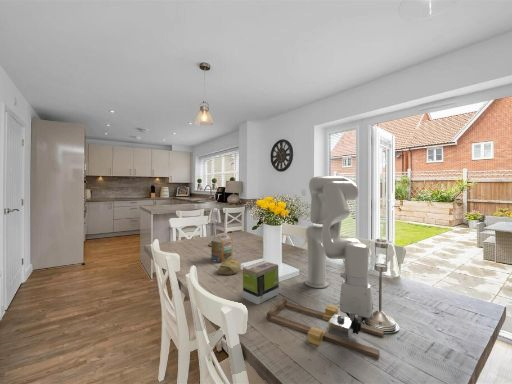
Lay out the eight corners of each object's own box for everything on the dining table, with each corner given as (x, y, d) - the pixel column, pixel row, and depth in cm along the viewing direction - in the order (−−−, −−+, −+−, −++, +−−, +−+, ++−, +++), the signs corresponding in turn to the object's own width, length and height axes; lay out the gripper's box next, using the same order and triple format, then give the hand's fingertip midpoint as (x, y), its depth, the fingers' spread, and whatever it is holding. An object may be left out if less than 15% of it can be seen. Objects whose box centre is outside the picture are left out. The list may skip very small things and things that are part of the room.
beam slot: (288, 300, 111) (288, 293, 111) (384, 327, 89) (385, 319, 89) (261, 324, 91) (261, 316, 91) (376, 367, 69) (376, 356, 69)
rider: (334, 323, 92) (334, 310, 92) (353, 330, 88) (353, 316, 88) (328, 332, 86) (328, 318, 86) (348, 340, 82) (348, 325, 82)
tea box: (264, 288, 123) (264, 259, 123) (279, 294, 116) (279, 264, 116) (242, 298, 113) (242, 266, 112) (257, 305, 106) (257, 272, 105)
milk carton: (221, 256, 179) (221, 231, 179) (232, 259, 173) (232, 233, 173) (211, 260, 171) (211, 233, 170) (222, 263, 164) (222, 235, 164)
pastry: (237, 267, 156) (237, 255, 156) (243, 274, 144) (243, 260, 144) (215, 270, 151) (215, 257, 151) (219, 277, 139) (219, 263, 139)
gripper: (331, 278, 84) (331, 330, 84) (379, 287, 76) (379, 345, 76) (337, 272, 90) (337, 320, 90) (381, 280, 82) (381, 333, 82)
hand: (356, 331), depth 83 cm, fingers closed
